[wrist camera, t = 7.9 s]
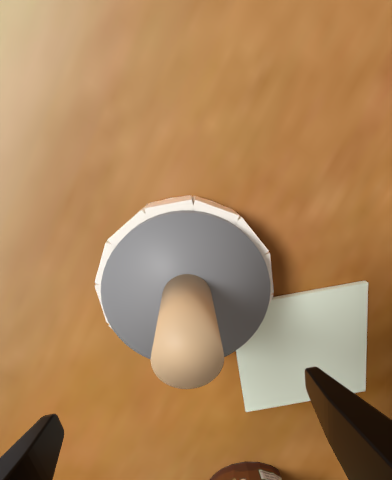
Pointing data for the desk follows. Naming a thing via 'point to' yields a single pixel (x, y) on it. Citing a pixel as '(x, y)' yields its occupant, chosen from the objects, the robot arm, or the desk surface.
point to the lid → (185, 293)
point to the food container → (248, 472)
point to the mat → (306, 345)
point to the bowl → (177, 205)
